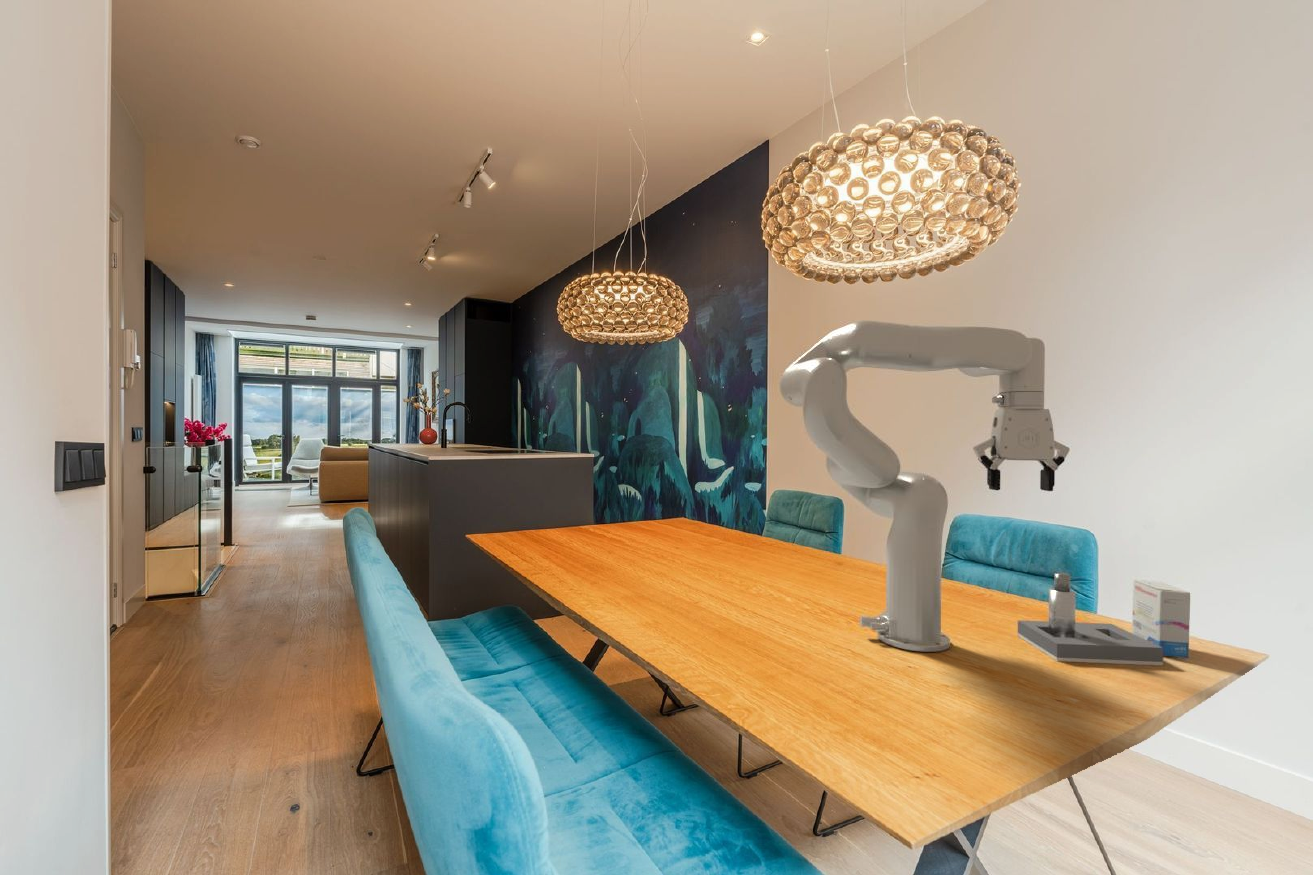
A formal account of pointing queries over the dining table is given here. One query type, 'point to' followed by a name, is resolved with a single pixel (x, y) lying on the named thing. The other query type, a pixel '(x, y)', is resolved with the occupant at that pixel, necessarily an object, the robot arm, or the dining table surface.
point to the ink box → (1162, 616)
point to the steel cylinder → (1062, 607)
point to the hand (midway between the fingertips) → (1020, 490)
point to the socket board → (1092, 644)
